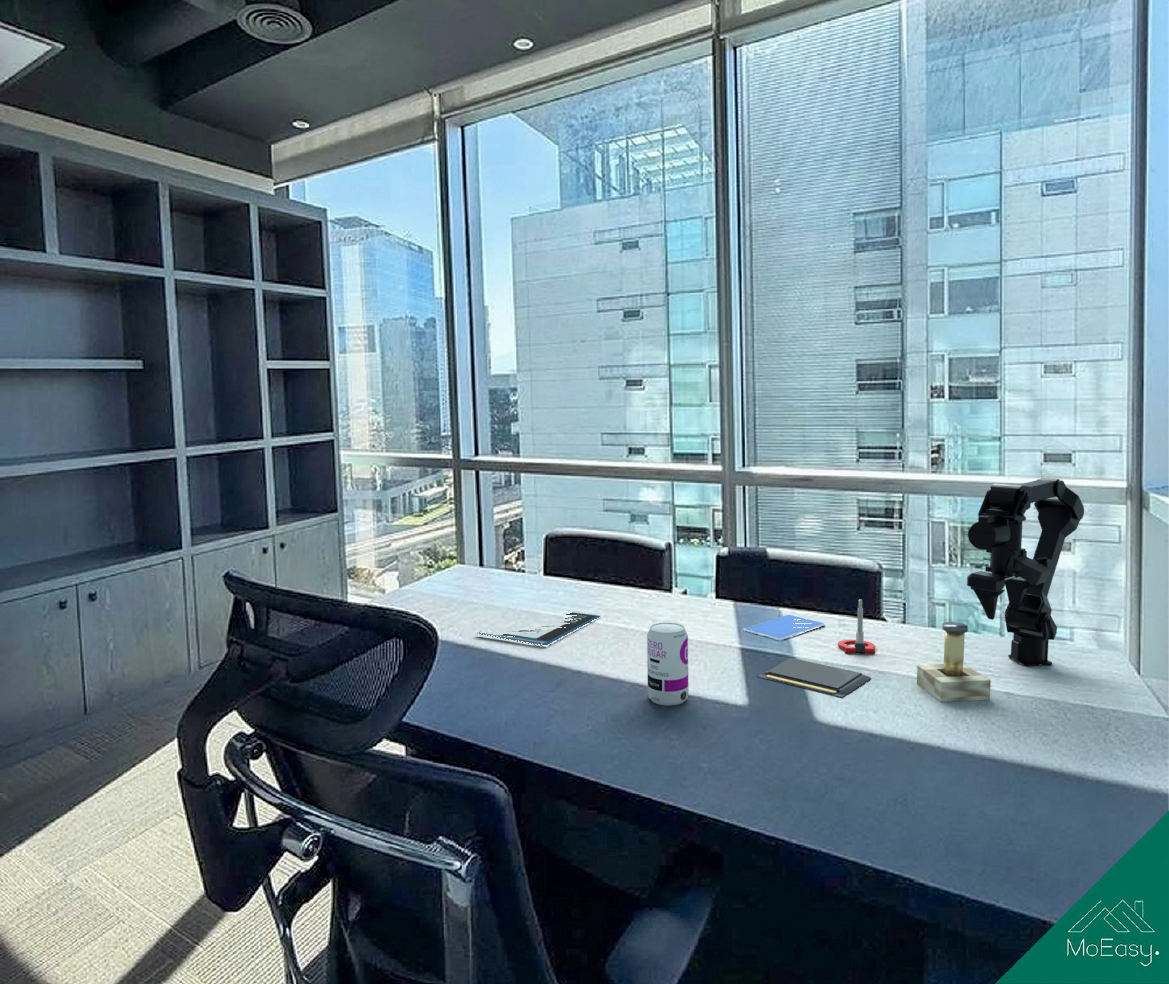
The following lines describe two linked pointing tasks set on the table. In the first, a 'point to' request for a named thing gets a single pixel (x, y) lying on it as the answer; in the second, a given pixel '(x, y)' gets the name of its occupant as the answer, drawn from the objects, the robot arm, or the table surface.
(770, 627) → the tablet computer
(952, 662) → the brass pin
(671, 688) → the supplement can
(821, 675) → the dark gray book
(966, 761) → the table surface
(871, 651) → the tow hook
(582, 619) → the sketchbook
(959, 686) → the socket block
